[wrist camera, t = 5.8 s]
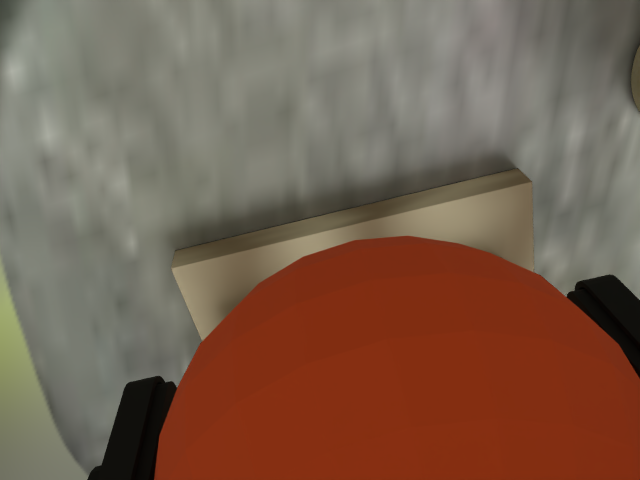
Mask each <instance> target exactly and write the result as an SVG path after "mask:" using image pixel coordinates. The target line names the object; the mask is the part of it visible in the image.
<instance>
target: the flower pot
mask: <svg viewBox="0 0 640 480" xmlns="http://www.w3.org/2000/svg"><path fill="white" fill-rule="evenodd" d="M631 89H632V94H633V98H634V101H635V104H636V106H637V108H638V110H639V112H640V46H639V47H638V50H637V53H636V56H635V59H634V63H633V68H632V74H631Z"/></svg>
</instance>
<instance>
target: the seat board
mask: <svg viewBox="0 0 640 480" xmlns="http://www.w3.org/2000/svg"><path fill="white" fill-rule="evenodd" d="M397 236H414V237H421V238H427V239H434V240H440V241H447V242H453V243H459V244H462V245H466V246H469V247H473V248H476V249H479V250H483V251H486V252H489V253H492V254H494V255H496V256H498V257H501V258H503V259H505V260H507V261H510V262H512V263H514V264H516V265H518V266H521V267H523V268H525V269H527V270H530V271H532V272H534V245H533V201H532V181H531V180H530V179H529V178H528V177H527V176H526V175H524V174H523V173H522V172H521V171H520V170H519V169H518V168H517V169H513V170H508V171H504V172H500V173H496V174H492V175H488V176H484V177H479V178H475V179H471V180H467V181H463V182H459V183H454V184H450V185H446V186H442V187H438V188H434V189H430V190H425V191H421V192H417V193H413V194H409V195H405V196H401V197H396V198H392V199H388V200H384V201H380V202H376V203H371V204H367V205H363V206H359V207H355V208H351V209H347V210H342V211H338V212H334V213H330V214H326V215H322V216H318V217H313V218H309V219H305V220H301V221H297V222H293V223H289V224H284V225H280V226H276V227H272V228H268V229H264V230H259V231H255V232H251V233H247V234H243V235H239V236H235V237H230V238H226V239H222V240H218V241H214V242H210V243H206V244H201V245H197V246H193V247H189V248H185V249H181V250H176V251H175V254H174V258H173V262H172V266H171V270H172V272H173V274H174V277H175V279H176V281H177V284H178V286H179V288H180V291H181V293H182V295H183V298H184V300H185V302H186V305H187V307H188V309H189V312H190V314H191V316H192V319H193V321H194V323H195V326H196V328H197V330H198V333H199V335H200V337H201V340H202V341H203V340H204V339H205V338H206V337H207V336H208V335H209V334H210V333H211V332H212V331H213V330H214V329H215V328H216V327H217V325H218V324H219V323H220V322H221V321H222V320H223V319H224V318H225V317H226V316H227V315H228V314H229V313H230V312H231V311H232V310H233V309H234V308H235V307H236V306H237V305H238V304H239V303H240V302H241V301H242V300H243V299H244V298H245V297H246V296H247V295H248V294H249V293H250V292H251V291H252V290H253V289H254V288H255V287H256V286H257V285H258V283H260V282H262V281H263V280H265V279H267V278H268V277H270V276H272V275H273V274H275V273H277V272H278V271H280V270H282V269H283V268H285V267H287V266H288V265H290V264H292V263H293V262H295V261H297V260H298V259H300V258H302V257H303V256H307V255H310V254H313V253H316V252H319V251H322V250H325V249H328V248H331V247H335V246H338V245H341V244H344V243H347V242H350V241H353V240H362V239H373V238H385V237H397Z"/></svg>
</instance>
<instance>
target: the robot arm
mask: <svg viewBox="0 0 640 480" xmlns="http://www.w3.org/2000/svg"><path fill="white" fill-rule="evenodd" d="M567 298H568V299H569V300H570V301H571V302H573V303H574V304H575V305H576V306H577V307H579V308H580V309H581V310H582V311H583V312H584V313H585V314H586V315H587V316H588V317H590V318H591V319H592V320H593V321H594V322H595V323H596V324H597V325H598V326H599V327H600V328H602V329H603V330H604V331H605V332H606V333H607V334H608V335H609V336H610V337H611V338H612V339H613V340H615V341H616V342H617V343H618V344H619V346H620V347H621V349H622V351H623V352H624V354H625V355H626V357H627V359H628V360H629V362H630V364H631V365H632V367H633V369H634V370H635V372H636V373H637V375H638V377H639V378H640V300H639V299H638V298H637V297H636V296H635V295H634V294H633V293H632V292H631V291H630V290H629V289H628V288H627V287H626V286H625V285H624V284H623V283H622V282H621V281H620V280H619V279H618V278H616V277H615V276H614V275H605V276H601V277H596V278H592V279H588V280H583V281H579V282H577V284H576V286H575V291H572V292H569V293H568V294H567ZM176 390H177V387H176V385H175V384H174V383H173V382H172V381H170V382H166V383H165V381H164V380H163V378H162V377H161V376H155V377H151V378H146V379H142V380H137V381H133V382H129V383H128V384H126V386H125V388H124V391H123V395H122V398H121V402H120V405H119V408H118V412H117V415H116V418H115V422H114V425H113V429H112V432H111V435H110V439H109V442H108V445H107V449H106V452H105V455H104V459H103V462H102V465H100V466H97V467H95V468H94V469H93V470H92V471H91V473H90V475H89V477H88V479H87V480H154V477H155V468H156V460H157V452H158V443H159V436H160V433H161V430H162V428H163V425H164V422H165V420H166V417H167V414H168V411H169V409H170V406H171V403H172V401H173V398H174V395H175V393H176Z"/></svg>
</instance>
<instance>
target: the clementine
mask: <svg viewBox="0 0 640 480" xmlns="http://www.w3.org/2000/svg"><path fill="white" fill-rule="evenodd" d="M154 480H640V378H639V377H638V375H637V373H636V372H635V370H634V369H633V367H632V365H631V364H630V362H629V360H628V359H627V357H626V355H625V354H624V352H623V351H622V349H621V347H620V346H619V344H618V343H617V342H616V341H615V340H613V339H612V338H611V337H610V336H609V335H608V334H607V333H606V332H605V331H604V330H603V329H602V328H600V327H599V326H598V325H597V324H596V323H595V322H594V321H593V320H592V319H591V318H590V317H588V316H587V315H586V314H585V313H584V312H583V311H582V310H581V309H580V308H579V307H577V306H576V305H575V304H574V303H573V302H571V301H570V300H569V299H568V298H567V297H566V296H564V295H563V294H562V293H561V292H560V291H558V290H557V289H556V288H555V287H554V286H553V285H551V284H550V283H549V282H548V281H547V280H545V279H544V278H543V277H542V276H541V275H539V274H536V273H534V272H532V271H530V270H527V269H525V268H523V267H521V266H518V265H516V264H514V263H512V262H510V261H507V260H505V259H503V258H501V257H498V256H496V255H494V254H492V253H489V252H486V251H483V250H479V249H476V248H473V247H469V246H466V245H462V244H459V243H453V242H447V241H440V240H434V239H427V238H421V237H414V236H397V237H385V238H373V239H362V240H353V241H350V242H347V243H344V244H341V245H338V246H335V247H331V248H328V249H325V250H322V251H319V252H316V253H313V254H310V255H307V256H303V257H302V258H300V259H298V260H297V261H295V262H293V263H292V264H290V265H288V266H287V267H285V268H283V269H282V270H280V271H278V272H277V273H275V274H273V275H272V276H270V277H268V278H267V279H265V280H263V281H262V282H260V283H258V285H257V286H256V287H255V288H254V289H253V290H252V291H251V292H250V293H249V294H248V295H247V296H246V297H245V298H244V299H243V300H242V301H241V302H240V303H239V304H238V305H237V306H236V307H235V308H234V309H233V310H232V311H231V312H230V313H229V314H228V315H227V316H226V317H225V318H224V319H223V320H222V321H221V322H220V323H219V324H218V325H217V327H216V328H215V329H214V330H213V331H212V332H211V333H210V334H209V335H208V336H207V337H206V338H205V339H204V340H203V341H202V342H201V343H200V345H199V347H198V349H197V351H196V353H195V355H194V357H193V359H192V361H191V362H190V364H189V366H188V368H187V370H186V372H185V374H184V376H183V378H182V380H181V382H180V384H179V386H178V387H177V390H176V393H175V395H174V398H173V401H172V403H171V406H170V409H169V411H168V414H167V417H166V420H165V422H164V425H163V428H162V430H161V433H160V436H159V443H158V452H157V460H156V468H155V477H154Z"/></svg>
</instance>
